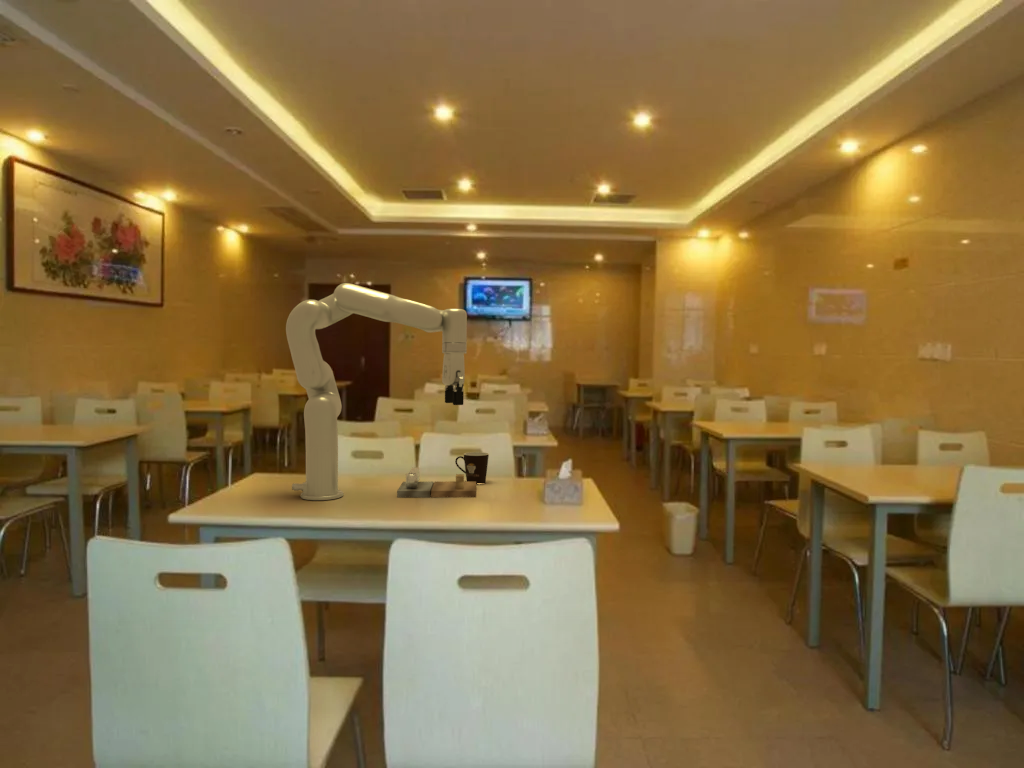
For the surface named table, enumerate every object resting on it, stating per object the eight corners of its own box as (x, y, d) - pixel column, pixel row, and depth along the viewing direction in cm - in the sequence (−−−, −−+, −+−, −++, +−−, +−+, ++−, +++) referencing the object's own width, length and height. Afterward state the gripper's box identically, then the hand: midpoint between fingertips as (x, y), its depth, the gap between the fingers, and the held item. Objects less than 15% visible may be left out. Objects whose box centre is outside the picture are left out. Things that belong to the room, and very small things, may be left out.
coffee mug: (493, 483, 235) (493, 454, 235) (473, 486, 230) (473, 456, 229) (473, 478, 244) (473, 450, 244) (453, 481, 238) (453, 452, 238)
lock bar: (417, 487, 213) (417, 475, 213) (405, 488, 213) (405, 475, 213) (421, 479, 228) (421, 467, 228) (410, 479, 228) (410, 467, 228)
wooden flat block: (397, 497, 210) (397, 477, 210) (403, 487, 226) (403, 469, 226) (475, 497, 211) (475, 477, 211) (476, 487, 227) (476, 469, 227)
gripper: (436, 348, 220) (435, 402, 221) (449, 348, 204) (449, 406, 205) (458, 349, 223) (458, 402, 223) (474, 348, 206) (473, 405, 207)
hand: (453, 403), depth 214 cm, fingers open, 9 cm apart
